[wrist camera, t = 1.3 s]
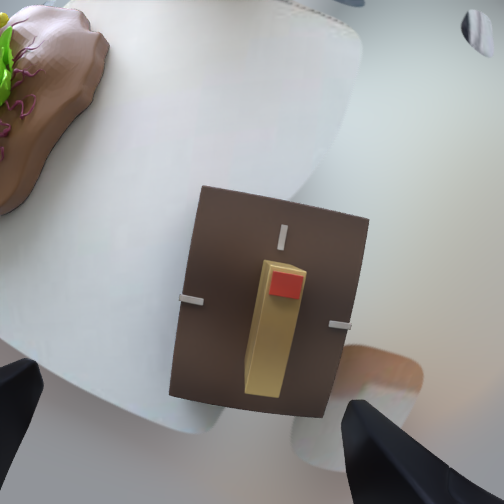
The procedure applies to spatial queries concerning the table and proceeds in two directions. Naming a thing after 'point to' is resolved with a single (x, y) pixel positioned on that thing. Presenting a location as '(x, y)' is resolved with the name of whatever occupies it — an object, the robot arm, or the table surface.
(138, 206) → the table surface
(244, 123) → the table surface
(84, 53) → the plant
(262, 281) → the golden tan block
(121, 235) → the table surface
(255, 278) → the panel
